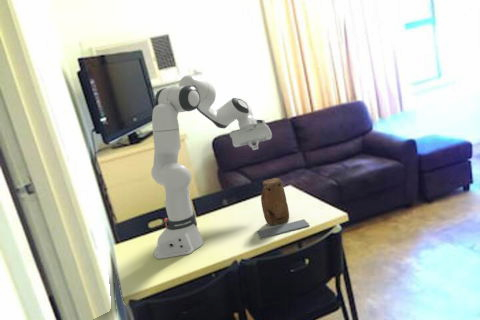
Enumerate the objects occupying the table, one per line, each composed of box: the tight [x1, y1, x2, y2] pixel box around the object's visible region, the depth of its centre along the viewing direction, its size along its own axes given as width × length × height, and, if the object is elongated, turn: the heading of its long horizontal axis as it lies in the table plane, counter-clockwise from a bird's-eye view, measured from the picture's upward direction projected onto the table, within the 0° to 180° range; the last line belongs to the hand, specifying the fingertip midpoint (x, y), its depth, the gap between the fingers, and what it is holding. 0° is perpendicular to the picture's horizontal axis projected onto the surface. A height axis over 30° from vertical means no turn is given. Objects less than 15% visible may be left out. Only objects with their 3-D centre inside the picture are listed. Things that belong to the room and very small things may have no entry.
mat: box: [257, 218, 310, 240], centre depth 183 cm, size 22×8×1 cm, turn 99°
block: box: [260, 177, 290, 226], centre depth 190 cm, size 11×8×20 cm
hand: (255, 148), depth 207 cm, fingers closed
